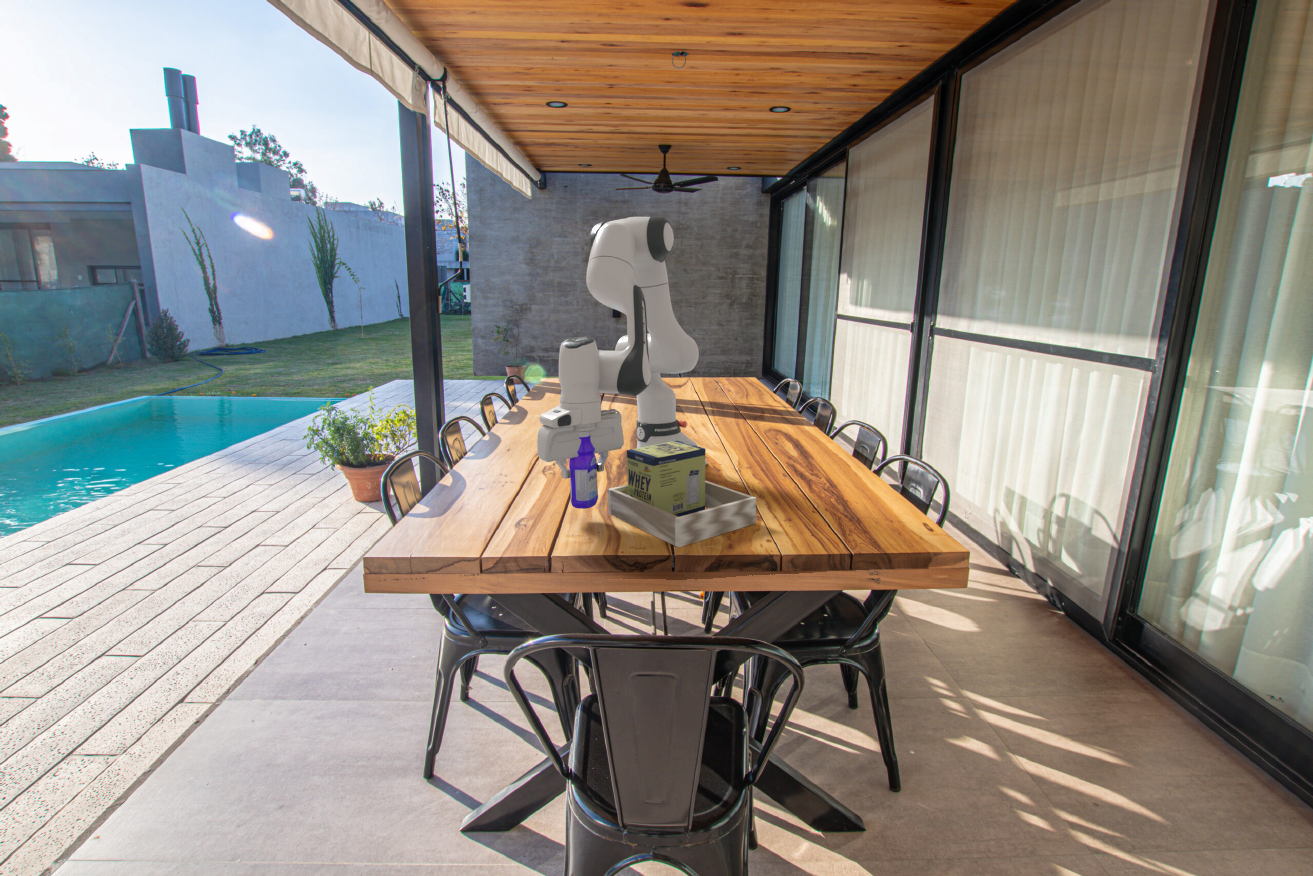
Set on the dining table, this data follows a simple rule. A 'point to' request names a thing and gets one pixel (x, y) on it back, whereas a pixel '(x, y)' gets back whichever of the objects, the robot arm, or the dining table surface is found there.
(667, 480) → the protein box
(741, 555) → the dining table surface
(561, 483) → the dining table surface
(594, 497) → the bottle
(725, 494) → the crate
